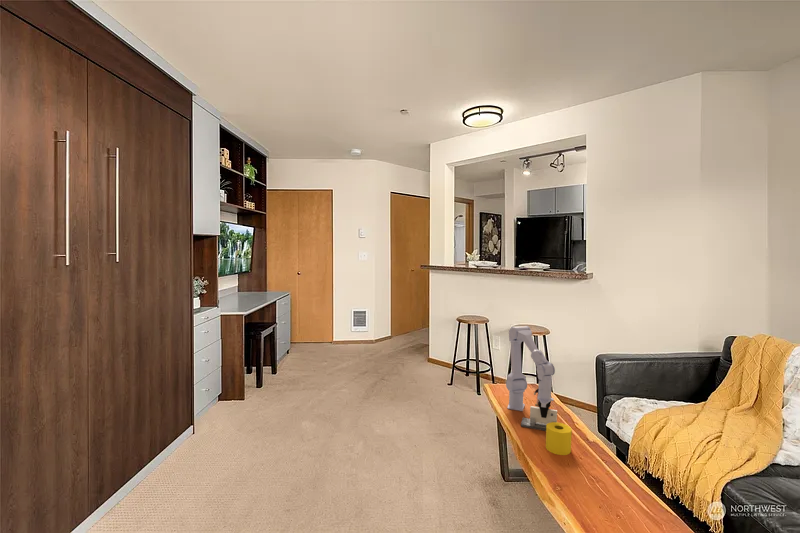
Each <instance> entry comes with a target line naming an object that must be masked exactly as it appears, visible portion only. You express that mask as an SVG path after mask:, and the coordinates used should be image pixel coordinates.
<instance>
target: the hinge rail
mask: <svg viewBox="0 0 800 533" xmlns="http://www.w3.org/2000/svg"><path fill="white" fill-rule="evenodd" d="M552 422H555V421H552ZM546 425H547V424H542V423H537V422H535V418H532V417H531V421H530V417H529V418H528V417H522V420H521V423H520V427H521V428H527V429H533V430H539V431H544V432H546Z"/></svg>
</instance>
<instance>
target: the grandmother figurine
mask: <svg viewBox="0 0 800 533" xmlns="http://www.w3.org/2000/svg"><path fill="white" fill-rule="evenodd" d="M538 390H539V383H538V388H537V389H536V390H535V391H534V392H533V395H534V396H535V395H536V403H535V407H539V406H538V402H539V401H538Z"/></svg>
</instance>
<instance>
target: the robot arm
mask: <svg viewBox="0 0 800 533" xmlns="http://www.w3.org/2000/svg"><path fill="white" fill-rule="evenodd" d="M532 336H533V331H532V329H531V327H530V326H529V325H523V326H521V325H520V326H511V327H510V328H509V329H508V340H509V342H510V343H509V344H510V364H511V365H510V368H511V370H510V371H511V372H510V373H508V375H507V376H506V381H505V387H506V389H507V391H508V392H509V393H508V405H507V408H506V409H509V410H514V411H518V412H524V408H525V406H526V403H524V393H525V391H526V390H527V388H528V381H527V377H526V375H525V374H523V372H522V371H523V370H522V348H521V347H522V342H523V343H524V344H525V345H526V347H527V348H528V350H529V352H530V357H531V359H532V361H533V363H534V365H535V367H536V368H535V369H536V373H537V378H538V384H539V386H538V388H539V390H538V393H537V394H538V401H539V402H538V406H537V407H539V408H540V412H541V417H542V418H546V417H547V412H548V409H550V407H551V403H552V402H553V401H555V400H554V398H553V397H552V381H553V380H552V379H553V378H552V377H553V376H554V374H555V372H556V369H555V365H554V364H553V363H552V362H550V361H549V360H547V358H546V356H545V355H544V353H543V351H542V350H540V349H538V347H537V344H536V342H535V340H534V338H533V337H532Z"/></svg>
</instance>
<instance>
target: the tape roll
mask: <svg viewBox="0 0 800 533" xmlns="http://www.w3.org/2000/svg"><path fill="white" fill-rule="evenodd" d="M545 432H546V433H545V448H546V450H547V451H548V452H550V453H551V454H554V455H558V456H559V455H560V456H567V455H570V454H571V453H572V434H573V433H572V432H573V429H572V427H571V426H569V424H566V423H563V422H558V421H557V422H550V423H548V424H547V425H546V431H545Z"/></svg>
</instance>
